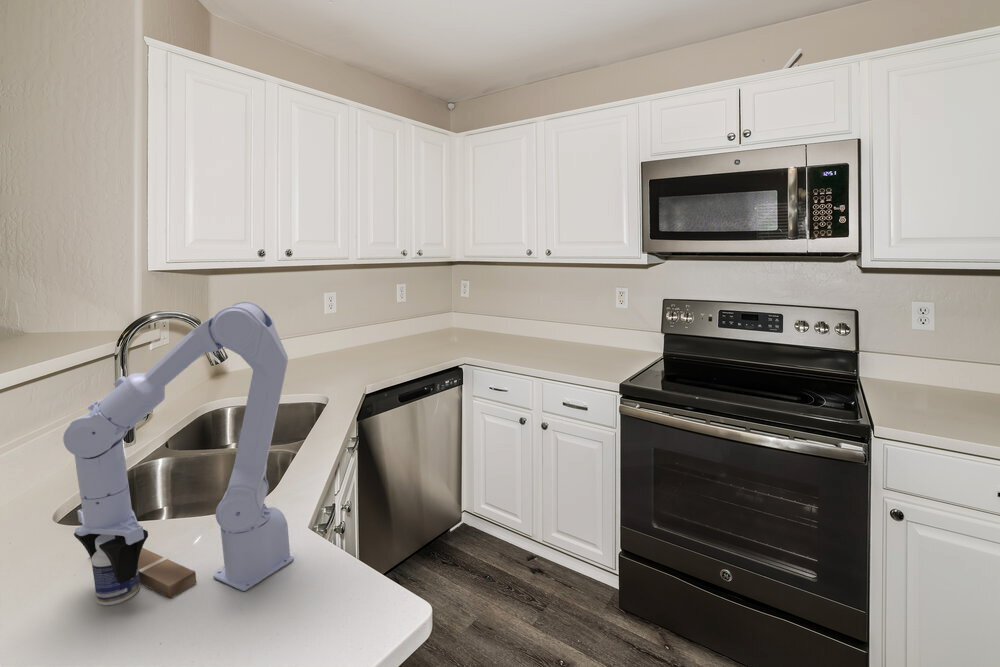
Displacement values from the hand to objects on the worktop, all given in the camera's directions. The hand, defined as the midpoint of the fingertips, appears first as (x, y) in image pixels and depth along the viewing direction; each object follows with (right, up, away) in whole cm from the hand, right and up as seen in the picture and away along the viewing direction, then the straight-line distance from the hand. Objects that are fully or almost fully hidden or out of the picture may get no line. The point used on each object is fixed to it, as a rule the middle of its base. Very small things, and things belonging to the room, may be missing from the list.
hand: (116, 574), depth 77 cm
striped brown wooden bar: (-1, -2, +7) cm, 7 cm away
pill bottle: (0, -4, +1) cm, 4 cm away
